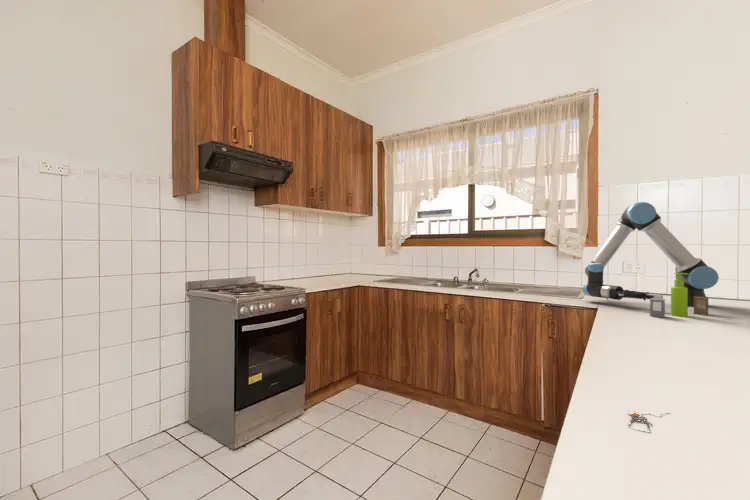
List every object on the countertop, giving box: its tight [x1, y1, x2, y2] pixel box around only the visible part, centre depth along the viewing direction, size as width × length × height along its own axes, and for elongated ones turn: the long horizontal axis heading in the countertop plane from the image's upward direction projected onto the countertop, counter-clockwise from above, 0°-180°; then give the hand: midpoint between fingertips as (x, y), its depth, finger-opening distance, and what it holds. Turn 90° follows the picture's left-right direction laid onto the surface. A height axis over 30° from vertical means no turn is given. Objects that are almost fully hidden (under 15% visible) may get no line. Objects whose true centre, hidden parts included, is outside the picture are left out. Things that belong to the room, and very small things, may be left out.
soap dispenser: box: [670, 272, 689, 317], centre depth 163 cm, size 6×7×20 cm
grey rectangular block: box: [649, 298, 666, 319], centre depth 161 cm, size 5×5×8 cm
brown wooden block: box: [693, 296, 709, 316], centre depth 166 cm, size 5×5×8 cm
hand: (662, 298), depth 170 cm, fingers closed
